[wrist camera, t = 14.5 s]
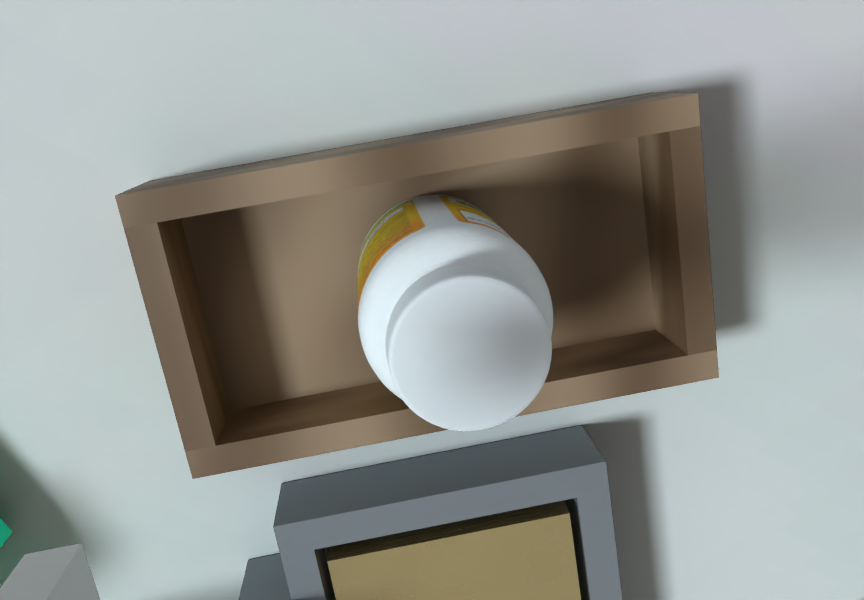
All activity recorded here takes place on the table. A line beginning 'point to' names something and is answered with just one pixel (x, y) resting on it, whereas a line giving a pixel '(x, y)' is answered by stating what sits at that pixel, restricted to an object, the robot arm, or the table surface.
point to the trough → (339, 255)
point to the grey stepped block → (441, 508)
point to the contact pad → (464, 560)
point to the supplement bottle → (453, 313)
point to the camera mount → (4, 532)
